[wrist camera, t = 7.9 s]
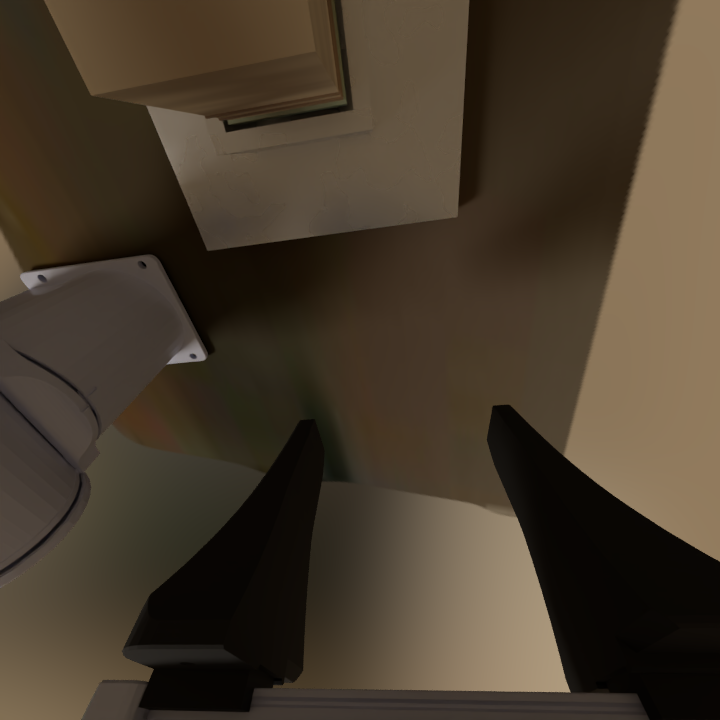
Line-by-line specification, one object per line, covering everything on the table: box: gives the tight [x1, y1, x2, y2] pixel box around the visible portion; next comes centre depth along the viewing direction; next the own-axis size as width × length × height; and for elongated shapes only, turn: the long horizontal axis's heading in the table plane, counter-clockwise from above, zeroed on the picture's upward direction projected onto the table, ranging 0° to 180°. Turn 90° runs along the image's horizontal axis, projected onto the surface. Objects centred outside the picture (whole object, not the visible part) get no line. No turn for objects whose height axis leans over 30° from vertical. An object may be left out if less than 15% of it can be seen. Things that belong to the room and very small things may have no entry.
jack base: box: [146, 0, 469, 251], centre depth 11 cm, size 14×14×6 cm
